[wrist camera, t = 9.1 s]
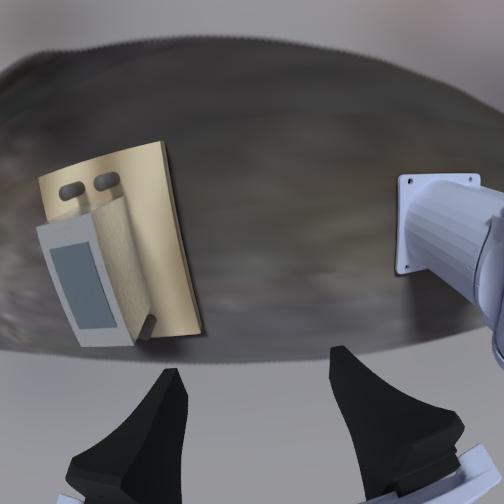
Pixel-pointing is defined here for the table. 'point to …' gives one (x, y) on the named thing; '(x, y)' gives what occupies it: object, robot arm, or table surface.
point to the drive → (97, 272)
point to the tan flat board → (137, 226)
